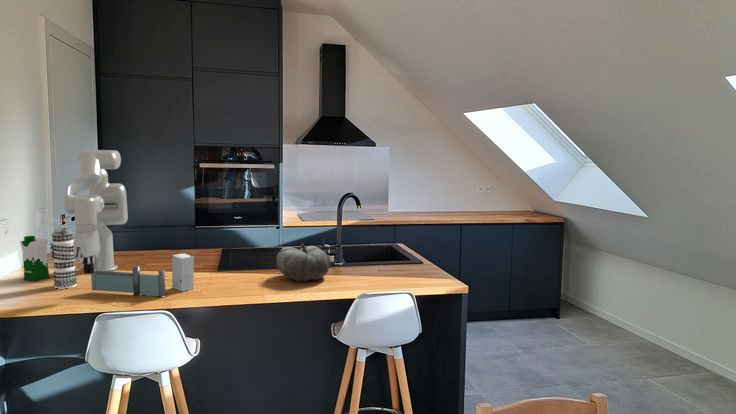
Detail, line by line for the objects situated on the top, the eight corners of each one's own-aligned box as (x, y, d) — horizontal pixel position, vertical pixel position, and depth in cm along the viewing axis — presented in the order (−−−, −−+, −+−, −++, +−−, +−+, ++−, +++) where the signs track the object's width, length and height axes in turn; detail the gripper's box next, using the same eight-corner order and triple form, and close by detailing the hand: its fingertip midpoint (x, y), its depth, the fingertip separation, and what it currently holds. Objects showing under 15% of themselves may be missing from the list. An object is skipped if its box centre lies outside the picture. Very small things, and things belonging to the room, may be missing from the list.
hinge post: (132, 295, 210) (130, 267, 208) (136, 293, 213) (134, 265, 211) (138, 296, 210) (137, 267, 208) (142, 294, 212) (141, 266, 211)
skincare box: (171, 288, 221) (170, 254, 219) (184, 285, 226) (183, 252, 224) (182, 292, 216) (181, 258, 214) (195, 289, 220) (194, 255, 218)
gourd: (263, 273, 238) (270, 237, 237) (300, 271, 258) (307, 238, 257) (300, 288, 223) (308, 250, 222) (337, 285, 243) (344, 250, 242)
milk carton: (20, 280, 230) (17, 236, 227) (39, 275, 238) (36, 233, 235) (34, 282, 227) (31, 238, 224) (53, 277, 235) (50, 234, 233)
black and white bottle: (51, 285, 222) (48, 229, 219) (76, 282, 228) (72, 227, 225) (54, 290, 215) (50, 232, 212) (79, 287, 221) (76, 230, 217)
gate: (134, 291, 212) (133, 272, 211) (131, 292, 210) (131, 273, 209) (94, 289, 215) (93, 269, 214) (91, 290, 213) (90, 270, 212)
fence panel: (139, 296, 210) (138, 270, 208) (143, 294, 212) (142, 268, 211) (163, 297, 208) (162, 271, 207) (166, 296, 210) (165, 270, 209)
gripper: (90, 225, 211) (93, 268, 213) (64, 230, 196) (67, 277, 198) (107, 225, 210) (109, 269, 212) (81, 231, 195) (84, 278, 197)
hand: (89, 273), depth 205 cm, fingers closed
